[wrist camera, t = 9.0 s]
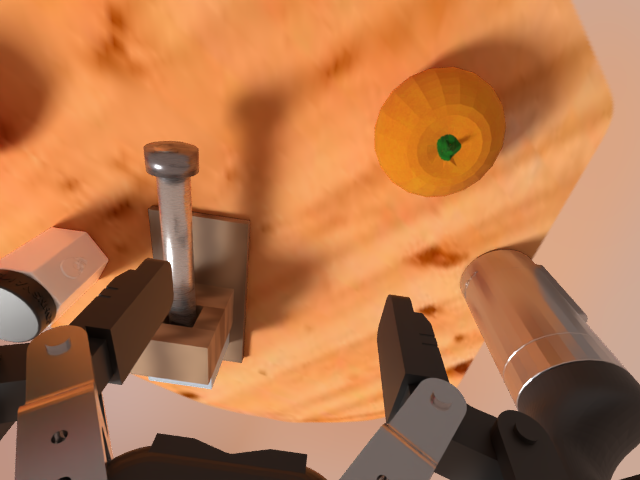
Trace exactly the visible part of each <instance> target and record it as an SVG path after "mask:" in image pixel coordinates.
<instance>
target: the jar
mask: <svg viewBox="0 0 640 480" xmlns="http://www.w3.org/2000/svg"><path fill="white" fill-rule="evenodd" d="M107 262H108V258H107V257H106V255H105V254H104V253H103V252H102V251H101V249H100V248H99V247H98V246H97V244H96V243H95V242H94V241H93V239H92V238H91V237H90V236H89V234H88V233H87V232H83V231H76V230H69V229H62V228H55V227H50V228H49V229H47V230H46V231H44V232H43V233H41V234H39V235H38V236H36V237H35V238H33V239H31V240H30V241H28V242H27V243H25V244H24V245H22V246H20V247H19V248H17V249H16V250H14V251H13V252H11V253H9V254H8V255H6V256H5V257H3V258H1V259H0V339H1V340H5V341H10V342H26V341H30V340H32V339H34V338H36V337H37V336H38V335H39V334H40V333H41V332H42V331H43V330H44V329H45V328H46V327H50V326H51V325H52V324H54V323H55V322H56V321H57V320H58V319H59V318H60V317H61V316H62V315H63V314H64V313H65V312H66V311H67V310H68V309H69V308H70V307H71V306H72V305H73V304H74V303H75V302H76V301H77V300H78V299H79V298H80V297H81V296H82V295H83V294H84V293H85V292H86V291H88V290H89V289H90V288H91V287H92V286H93V285H94V284H95V283H96V282H97V281H98V279H99V277H100V275H101V273H102V271H103V270H104V268H105V266H106V264H107Z"/></svg>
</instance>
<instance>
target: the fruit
mask: <svg viewBox="0 0 640 480" xmlns="http://www.w3.org/2000/svg"><path fill="white" fill-rule="evenodd" d="M505 129H506V123H505V117H504V110H503V106H502V103H501V102H500V100H499V98H498V96H497V95H496V93H495V91H494V89H493V88H492V86H490V85H489V84H488V83H487V82H485V81H484V80H483V79H482V78H480V77H479V76H478V75H476V74H475V73H473V72H469V71H466V70H463V69H459V68H456V67H444V68H431V69H428V70H425V71H423V72H420V73H418V74H416V75H413V76H411V77H409V78H408V79H407V80H405V81H404V82H403V83H402V84H400V85H399V86H398V87H397V88H396V89H394V90H393V91H392V93H391V94H390V96H389V97H388V99H387V100H386V102H385V103H384V104H383V106H382V107H381V110H380V113H379V116H378V119H377V122H376V125H375V151H376V154H377V157H378V160H379V163H380V166H381V168H382V169H383V170H384V172H385V173H386V174H387V176H388V177H389V178H390V180H391V181H392V182H393V183H395V184H396V185H398V186H399V187H401V188H402V189H404V190H405V191H407V192H409V193H413V194H417V195H421V196H424V197H438V196H447V195H450V194H453V193H456V192H459V191H462V190H465V189H466V188H468V187H469V186H471V185H472V184H474V183H475V182H477V181H478V180H480V179H481V178H482V177H483V175H484V174H485V173H486V172H487V171H488V170H489V169H490V168H491V167H492V166H493V164H494V162H495V160H496V158H497V156H498V154H499V152H500V150H501V148H502V145H503V140H504V134H505Z"/></svg>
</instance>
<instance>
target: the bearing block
mask: <svg viewBox="0 0 640 480" xmlns="http://www.w3.org/2000/svg"><path fill="white" fill-rule="evenodd" d="M148 213H149V222H150V232H151V241H152V250H153V259H158V260H164V257H163V246H162V235H161V224H160V213H159V207H157V206H151V207H150V208H149V209H148ZM192 228H193V252H194V277H195V301H196V322H195V324H194V326H193V328H191V327H185V326H178V325H171V324H169V313H168V315H167V316H166V318H165V319H164V321H163V322H162V324H161V325H160V327H159V329H158V330H157V332H156V333H155V335H154V336H153V338H152V339H151V341H150V342H149V344H148V345H147V347H146V349H145V350H144V352H143V353H142V355H141V356H140V358H139V359H138V361H137V362H136V364H135V365H134V367H133V368H132V370H131V374H135V375H142V376H149V377H156V378H163V379H170V380H177V381H184V382H191V383H198V384H205V385H209V382H210V380H211V377H212V375H213V372H214V370H215V367H216V364H217V362H218V359H219V357H220V354H221V352H222V349H223V347H224V344H225V342H226V339H227V336H228V334H229V344H228V347H227V350H226V352H225V355H224V358H223V360H225V361H232V362H239V363H242V360H243V354H244V334H245V314H246V294H247V273H248V253H249V233H250V221H248V220H242V219H235V218H229V217H222V216H216V215H209V214H202V213H196V212H192Z"/></svg>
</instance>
